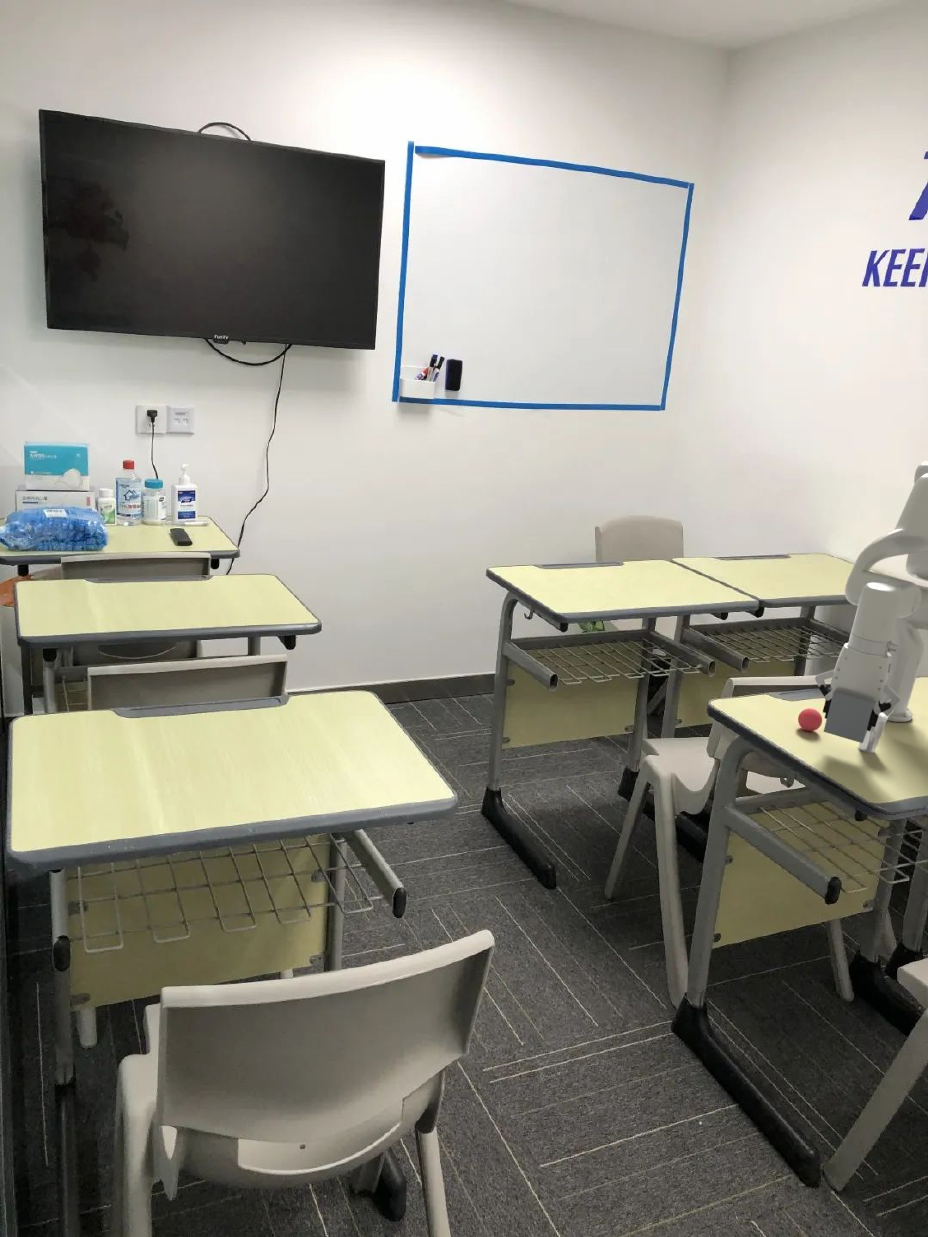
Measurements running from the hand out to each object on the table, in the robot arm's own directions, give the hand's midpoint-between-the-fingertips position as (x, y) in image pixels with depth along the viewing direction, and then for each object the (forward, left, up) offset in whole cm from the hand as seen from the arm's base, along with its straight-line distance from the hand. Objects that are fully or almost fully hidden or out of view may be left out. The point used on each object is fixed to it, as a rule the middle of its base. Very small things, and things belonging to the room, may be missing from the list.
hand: (848, 722), depth 193 cm
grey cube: (0, 0, -2) cm, 2 cm away
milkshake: (-8, +5, -8) cm, 12 cm away
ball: (-9, -8, -5) cm, 13 cm away
